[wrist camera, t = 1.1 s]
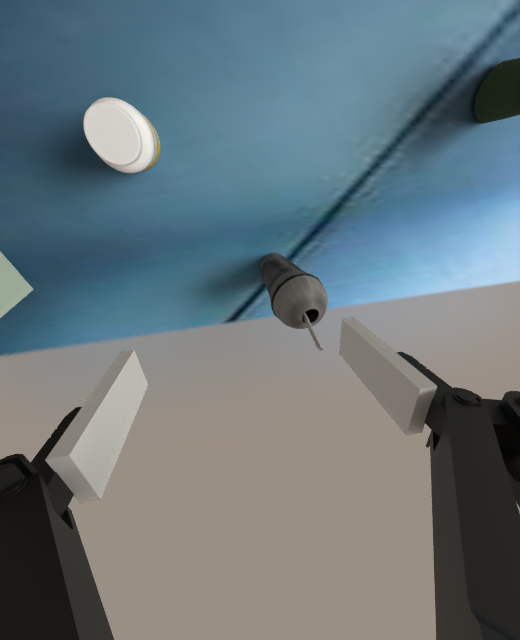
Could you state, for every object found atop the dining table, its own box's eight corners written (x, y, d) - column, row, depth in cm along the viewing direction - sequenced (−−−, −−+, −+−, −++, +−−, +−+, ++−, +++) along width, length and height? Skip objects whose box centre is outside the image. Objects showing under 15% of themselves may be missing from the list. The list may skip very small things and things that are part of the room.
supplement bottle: (104, 154, 26) (68, 154, 18) (111, 97, 24) (74, 69, 16) (154, 178, 28) (141, 187, 21) (166, 128, 26) (156, 117, 18)
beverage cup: (301, 260, 40) (375, 330, 24) (274, 292, 42) (324, 375, 26) (271, 235, 36) (335, 297, 20) (243, 271, 38) (280, 353, 22)
